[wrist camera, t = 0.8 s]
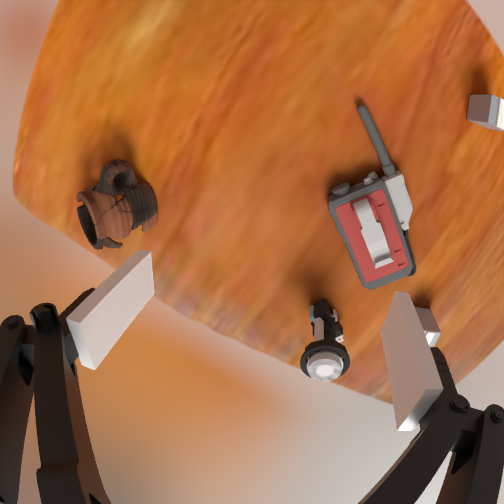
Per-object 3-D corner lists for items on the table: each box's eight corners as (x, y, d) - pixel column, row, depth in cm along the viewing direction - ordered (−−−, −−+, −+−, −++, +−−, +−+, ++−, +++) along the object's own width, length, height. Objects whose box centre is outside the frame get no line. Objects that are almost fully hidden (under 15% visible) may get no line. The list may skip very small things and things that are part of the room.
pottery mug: (160, 245, 40) (106, 271, 35) (124, 207, 44) (75, 227, 38) (167, 164, 32) (98, 187, 27) (126, 133, 36) (67, 149, 30)
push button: (357, 326, 39) (363, 382, 30) (323, 342, 41) (321, 398, 32) (332, 290, 38) (334, 345, 29) (296, 309, 40) (289, 364, 31)
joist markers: (470, 94, 24) (493, 94, 20) (490, 104, 24) (515, 105, 19) (403, 324, 38) (411, 350, 33) (422, 326, 37) (431, 352, 33)
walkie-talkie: (427, 261, 34) (367, 101, 28) (438, 279, 30) (375, 99, 24) (363, 287, 37) (293, 134, 31) (367, 307, 33) (290, 137, 27)
